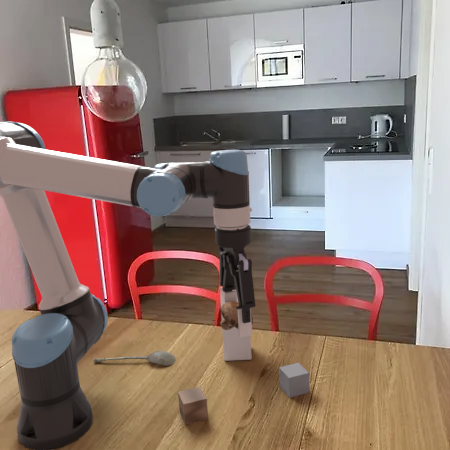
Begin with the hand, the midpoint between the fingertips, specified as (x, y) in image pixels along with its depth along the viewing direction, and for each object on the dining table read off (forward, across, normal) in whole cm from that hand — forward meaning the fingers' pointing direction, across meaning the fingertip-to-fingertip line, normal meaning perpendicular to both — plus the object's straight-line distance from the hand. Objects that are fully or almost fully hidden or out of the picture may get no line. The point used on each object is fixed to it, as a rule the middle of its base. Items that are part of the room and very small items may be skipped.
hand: (238, 326), depth 106 cm
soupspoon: (+18, +27, +20) cm, 38 cm away
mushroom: (+1, 0, 0) cm, 1 cm away
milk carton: (+17, +19, -6) cm, 27 cm away
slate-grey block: (+17, -2, -12) cm, 21 cm away
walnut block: (+17, -2, +12) cm, 21 cm away
